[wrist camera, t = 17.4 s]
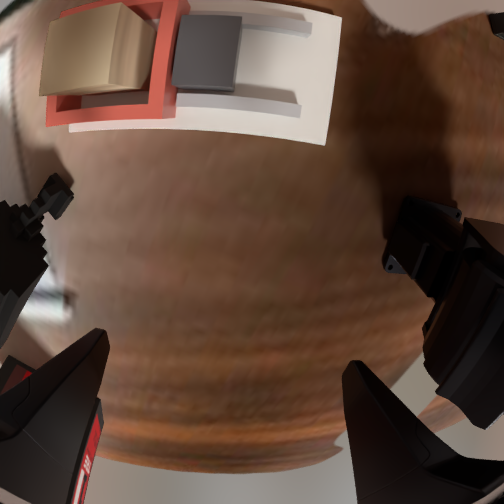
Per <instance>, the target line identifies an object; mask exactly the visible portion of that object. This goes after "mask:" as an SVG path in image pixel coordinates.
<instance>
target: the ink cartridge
mask: <svg viewBox="0 0 504 504" xmlns="http://www.w3.org/2000/svg"><path fill="white" fill-rule="evenodd" d="M489 17H490V20H491V24H492V28H493V32H494V35H496V36H498V37H499V38H501V39H503V40H504V12H503V13H496V14H491V15H489Z"/></svg>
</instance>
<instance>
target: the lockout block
mask: <svg viewBox="0 0 504 504" xmlns="http://www.w3.org/2000/svg"><path fill="white" fill-rule="evenodd" d="M156 38H157V31H156V30H155V29H154V28H152V27H151V26H150V25H149V24H148V23H147V22H145V21H144V20H143V19H142V18H140V17H139V16H138V15H137V14H136V13H134V12H133V11H132V10H131V9H129V8H128V7H127V6H126V5H124V4H123V3H122V2H119V3H114V4H110V5H105V6H101V7H97V8H93V9H89V10H85V11H82V12H78V13H75V14H72V15H68V16H65V17H62V18H59V19H56V20H54V21H51V22H50V24H49V28H48V33H47V38H46V44H45V49H44V56H43V63H42V70H41V79H40V90H39V96H57V95H90V96H96V95H105V94H114V93H125V92H140V91H149V90H150V81H151V73H152V65H153V58H154V51H155V44H156Z"/></svg>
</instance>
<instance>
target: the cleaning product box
mask: <svg viewBox="0 0 504 504" xmlns="http://www.w3.org/2000/svg"><path fill="white" fill-rule="evenodd" d="M34 371H36V370H35V369H33V368H31V367H29V366H27V365H26V364H24V363H22V362H20V361H19V360H17V359H15V358H13V357H12V356H10V355H8V357H7V358H6V360H5V362H4V363H3V365H2V367H1V368H0V395H1V394H2V393H4V392H6V391H7V390H9V389H10V388H12V387H14V386H15V385H16V384H18V383H19V382H21V381H22V380H24V379H25V378H26V377H28V376H30V374H32V373H33V372H34ZM103 425H104V421H103V414H102V407H101V399H98V398H96V399H95V402H94V405H93V408H92V411H91V414H90V417H89V420H88V423H87V426H86V429H85V432H84V435H83V438H82V442H81V445H80V448H79V452H78V455H77V459H76V462H75V466H74V470H73V473H72V478H71V482H70V486H69V490H68V494H67V499H66V503H65V504H84V499H85V494H86V490H87V485H88V480H89V477H90V472H91V468H92V464H93V461H94V457H95V453H96V449H97V446H98V442H99V439H100V435H101V432H102V428H103Z"/></svg>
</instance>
